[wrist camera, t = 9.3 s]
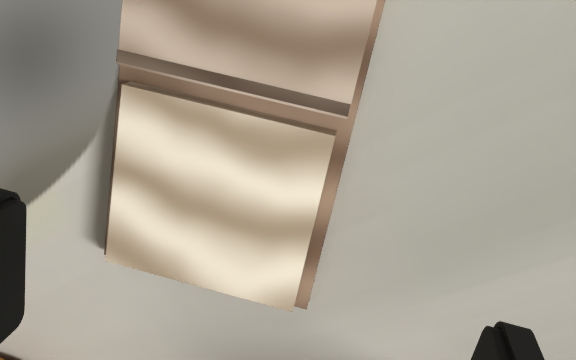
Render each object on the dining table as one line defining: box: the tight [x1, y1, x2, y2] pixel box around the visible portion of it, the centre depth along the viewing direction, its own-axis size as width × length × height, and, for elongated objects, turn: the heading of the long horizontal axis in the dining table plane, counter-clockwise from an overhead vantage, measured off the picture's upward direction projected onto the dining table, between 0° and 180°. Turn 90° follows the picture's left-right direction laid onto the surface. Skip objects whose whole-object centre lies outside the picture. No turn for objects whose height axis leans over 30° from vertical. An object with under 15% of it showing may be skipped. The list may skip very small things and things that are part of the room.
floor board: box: [104, 0, 385, 309], centre depth 38 cm, size 26×17×3 cm, turn 169°
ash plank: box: [105, 81, 337, 312], centre depth 39 cm, size 14×15×2 cm
